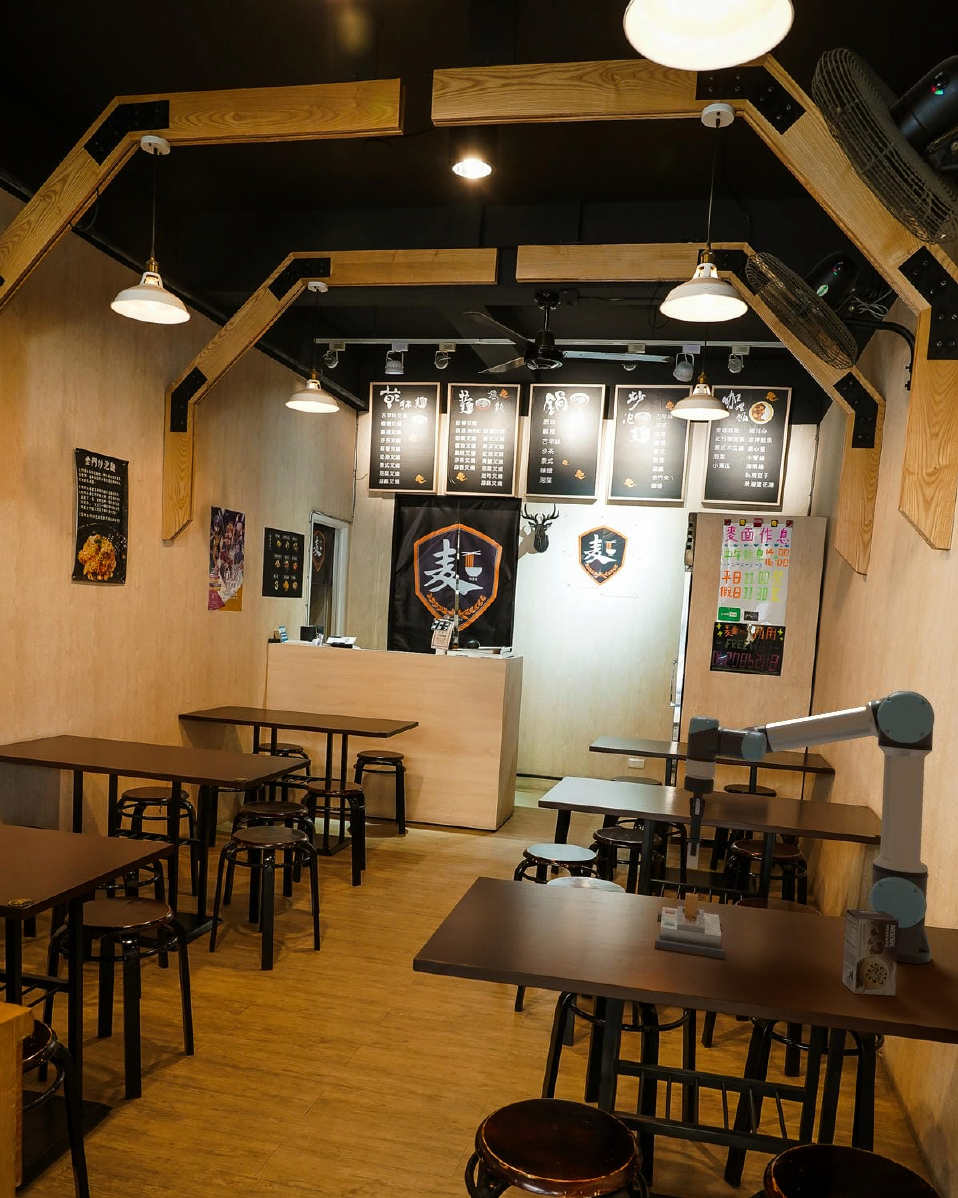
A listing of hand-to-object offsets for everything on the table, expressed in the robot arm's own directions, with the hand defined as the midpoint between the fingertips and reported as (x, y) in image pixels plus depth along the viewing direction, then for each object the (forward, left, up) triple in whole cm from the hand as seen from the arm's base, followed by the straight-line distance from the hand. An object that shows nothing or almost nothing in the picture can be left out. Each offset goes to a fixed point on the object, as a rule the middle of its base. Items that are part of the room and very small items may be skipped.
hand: (691, 867), depth 232 cm
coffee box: (-38, +30, -14) cm, 50 cm away
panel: (0, +12, -14) cm, 19 cm away
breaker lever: (0, +8, -10) cm, 13 cm away
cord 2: (0, +24, -14) cm, 27 cm away
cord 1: (0, +1, -14) cm, 14 cm away
